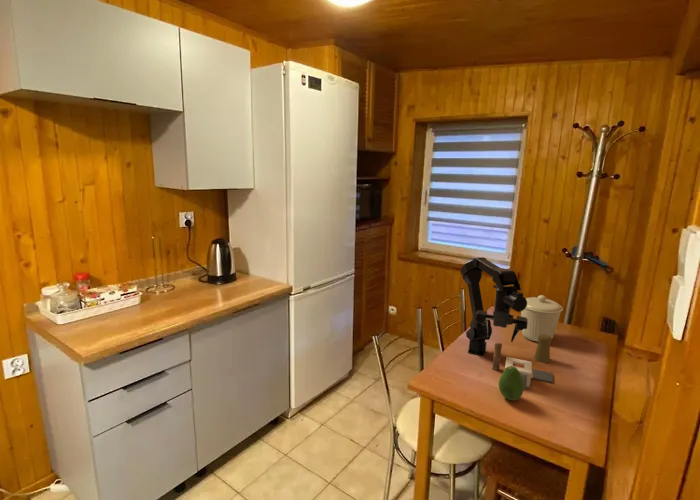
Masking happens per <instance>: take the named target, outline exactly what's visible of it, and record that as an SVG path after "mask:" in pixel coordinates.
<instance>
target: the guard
mask: <svg viewBox="0 0 700 500" xmlns="http://www.w3.org/2000/svg"><path fill="white" fill-rule="evenodd" d="M514 364H515V365H520V366H523V368H520V367H516V368H517V370H518V371H519V373H522V374H521V378H522V381H523V385H524V389H527V390H530V389H531V388H530V387H531V379H532V372H533V369H532V367H533V366H532V364H533V363H532V361H529V360H525V359H518V358H514V357H509V356H506V360H505V365H504V370H505V369H506V368H507V367H510V366H513V367H515V366H514Z"/></svg>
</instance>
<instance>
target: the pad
mask: <svg viewBox="0 0 700 500" xmlns="http://www.w3.org/2000/svg"><path fill="white" fill-rule="evenodd" d="M532 380H536V381H539V382H544V383H549V384H554V378H553V372H550V371H549V372H548V371H545V370H540V369H534V368H533V369H532Z"/></svg>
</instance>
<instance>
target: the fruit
mask: <svg viewBox="0 0 700 500" xmlns="http://www.w3.org/2000/svg"><path fill="white" fill-rule="evenodd" d="M513 366H514V365H513ZM513 366H510V367H507V368H506V369H505V368H504V371H503V372H502V373H501V375H500V378H499V380H498V390H499V392H500V395H502V397H503V398H505V399H507V400H509V401H517V400H519V399H520V398H521V397H522V395H523V393H524V389H525V388H524V385H523V381H522V378H521V375H520V373H519V371H518V370H517V368H516V367H513Z"/></svg>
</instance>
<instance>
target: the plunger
mask: <svg viewBox="0 0 700 500" xmlns="http://www.w3.org/2000/svg"><path fill="white" fill-rule="evenodd" d="M513 366H515V367H520V368H524V366H523V365H520V364H515V365H514V364H513ZM521 374H522V373H520V375H521Z"/></svg>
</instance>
